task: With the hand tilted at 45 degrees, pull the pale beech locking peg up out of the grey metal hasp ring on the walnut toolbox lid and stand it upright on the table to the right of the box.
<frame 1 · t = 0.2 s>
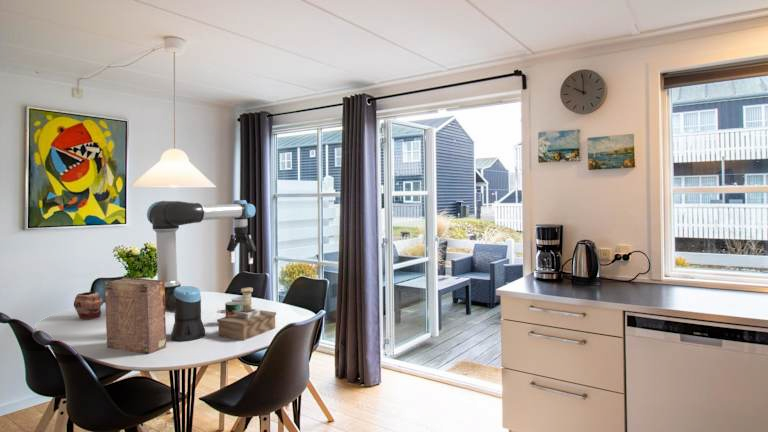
hand: (241, 263, 270), 28 cm above the table, tool pointing down, fingers open, 13 cm apart
canned tomato: (233, 323, 244), on the table
brown upright block: (136, 347, 207), on the table
decorative planter: (87, 318, 258), on the table
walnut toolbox: (247, 331, 229), on the table
beech peg: (247, 315, 229), point 8 cm above the table, touching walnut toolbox
teacup: (242, 310, 272), on the table
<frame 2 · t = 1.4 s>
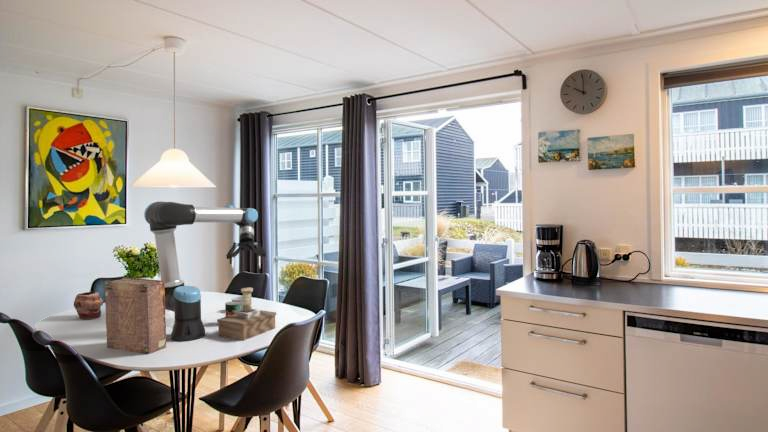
hand: (246, 267, 242), 29 cm above the table, tool tilted 45°, fingers open, 13 cm apart
nothing on the table moved.
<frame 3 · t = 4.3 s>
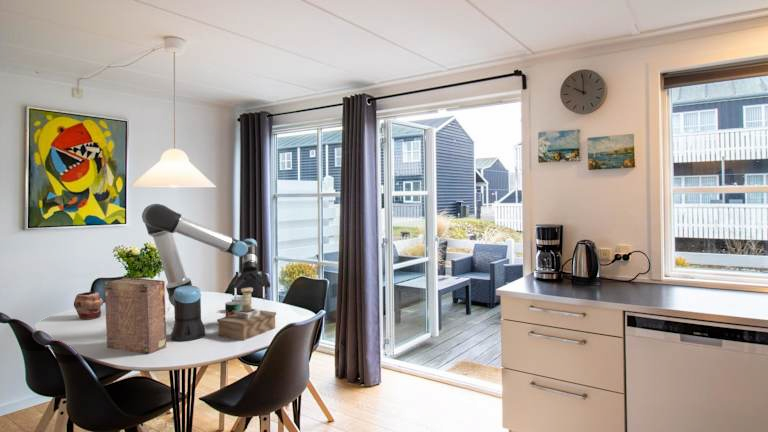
hand: (249, 299, 230), 16 cm above the table, tool tilted 45°, fingers open, 13 cm apart
nothing on the table moved.
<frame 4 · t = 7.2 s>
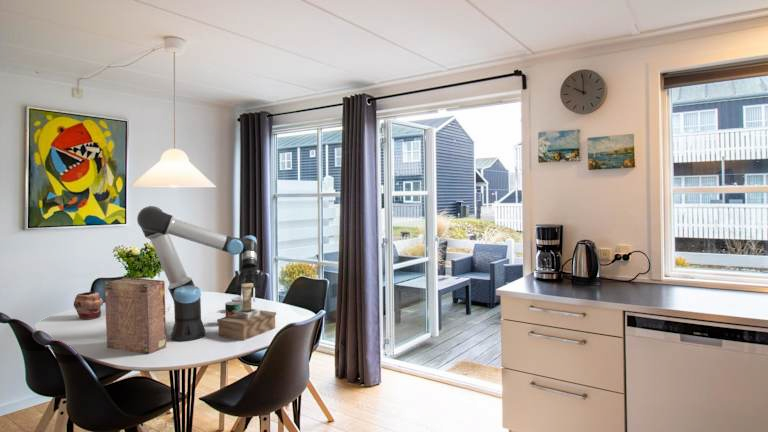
hand: (247, 300, 225), 17 cm above the table, tool tilted 45°
beech peg: (247, 311, 229), point 10 cm above the table, touching gripper
everything else where it was.
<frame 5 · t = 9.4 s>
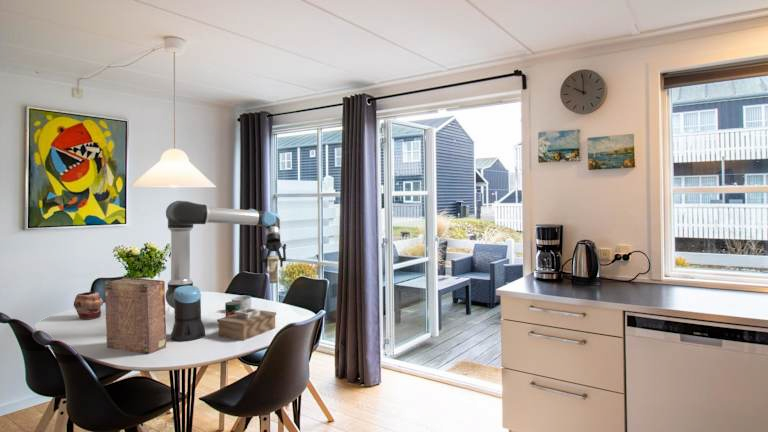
hand: (274, 271, 239), 28 cm above the table, tool tilted 45°
beech peg: (273, 282, 243), point 22 cm above the table, touching gripper
everything else where it was.
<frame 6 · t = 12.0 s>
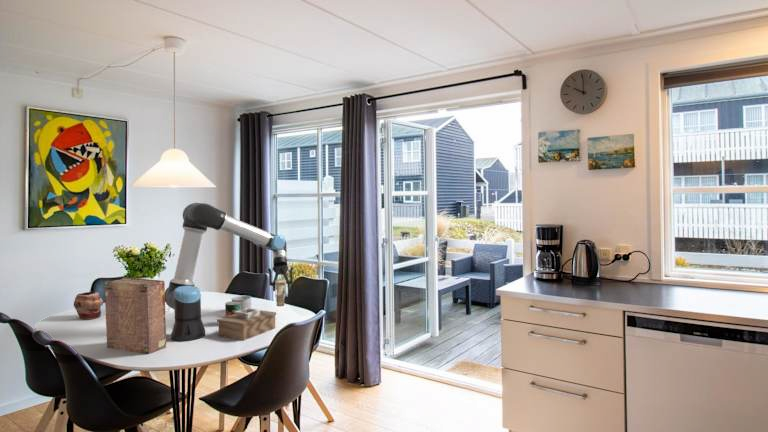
hand: (281, 295, 245), 15 cm above the table, tool tilted 45°, fingers closed on beech peg, 5 cm apart
beech peg: (280, 305, 248), point 8 cm above the table, touching gripper
everything else where it was.
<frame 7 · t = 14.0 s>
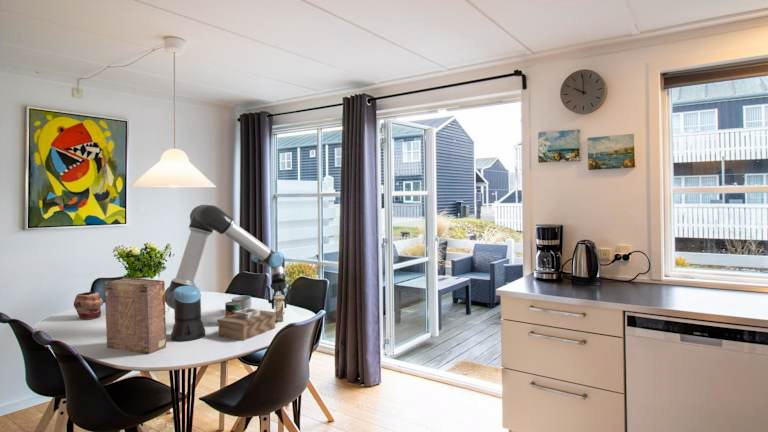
hand: (279, 313, 244), 5 cm above the table, tool tilted 45°, fingers closed on beech peg, 4 cm apart
beech peg: (279, 321, 248), on the table, touching gripper
everything else where it was.
when the fingers open (5 cm above the table, at t = 14.1 s): beech peg stays where it is, on the table.
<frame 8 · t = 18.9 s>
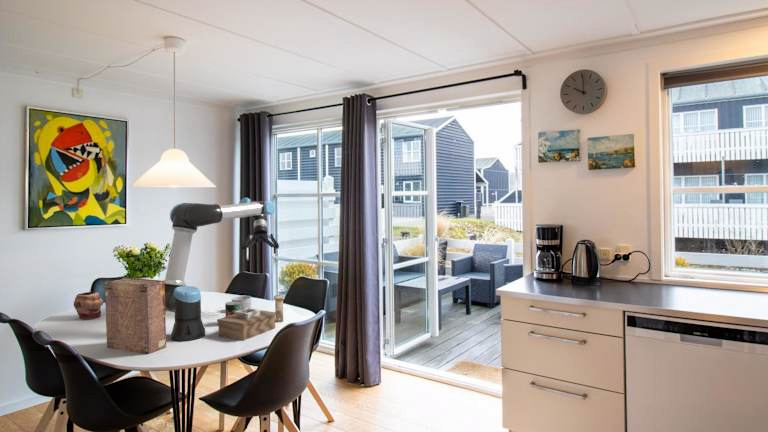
hand: (260, 258, 255), 33 cm above the table, tool tilted 45°, fingers open, 13 cm apart
beech peg: (279, 321, 248), on the table
everything else where it was.
at the end: beech peg inside the target area (0.1 cm from its centre), on the table; beech peg tilted 0°; beech peg touching table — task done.
